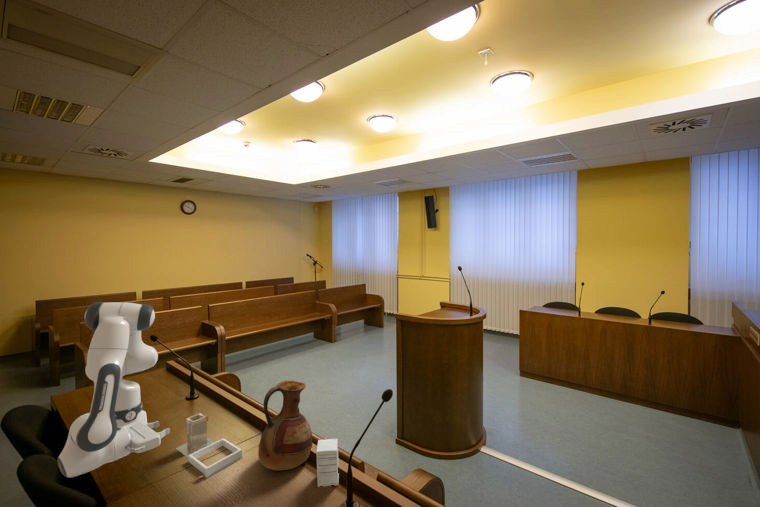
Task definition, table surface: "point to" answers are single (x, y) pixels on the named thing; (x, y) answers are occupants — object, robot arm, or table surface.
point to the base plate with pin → (187, 451)
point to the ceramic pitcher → (285, 431)
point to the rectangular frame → (219, 464)
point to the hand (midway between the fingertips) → (164, 426)
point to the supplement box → (327, 462)
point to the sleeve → (196, 431)
